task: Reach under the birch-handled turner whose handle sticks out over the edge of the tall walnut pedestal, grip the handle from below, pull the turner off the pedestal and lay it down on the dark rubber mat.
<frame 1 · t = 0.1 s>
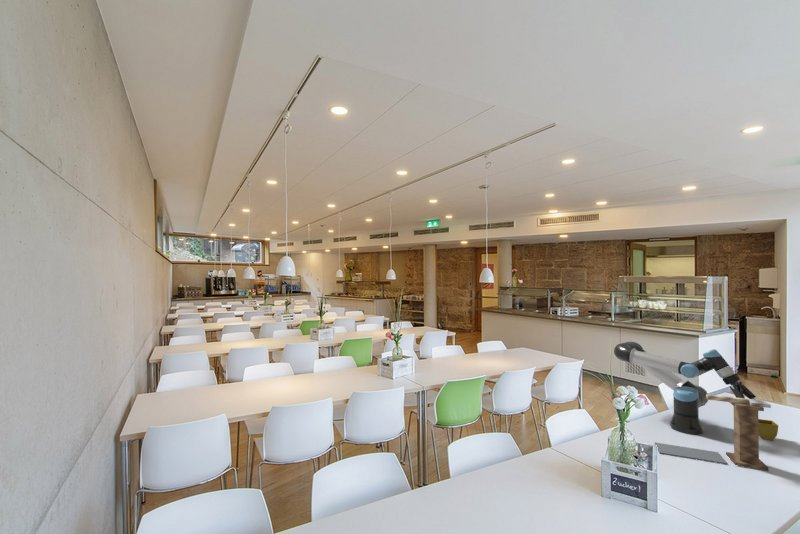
hand: (758, 412, 210), 15 cm above the table, tool tilted 35°, fingers open, 13 cm apart
turner: (745, 403, 185), point 28 cm above the table, touching pedestal
pedestal: (746, 462, 184), on the table
mat: (688, 453, 194), on the table
flower pot: (765, 438, 214), on the table
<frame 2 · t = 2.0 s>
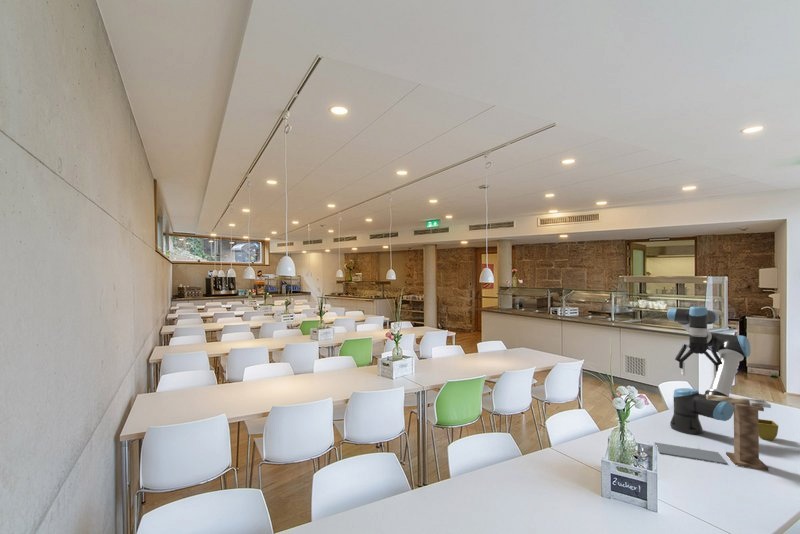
hand: (698, 376, 205), 36 cm above the table, tool pointing down, fingers open, 13 cm apart
nothing on the table moved.
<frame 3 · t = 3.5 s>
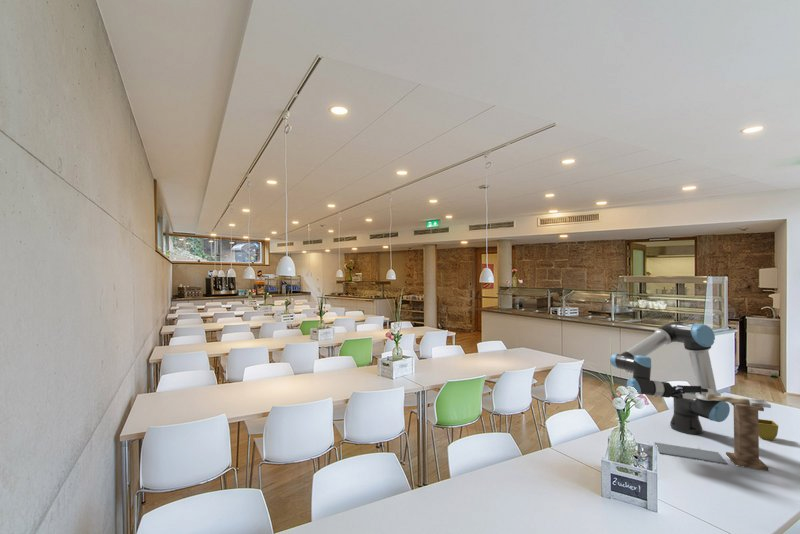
hand: (704, 394, 197), 28 cm above the table, tool horizontal, fingers open, 13 cm apart
turner: (745, 403, 185), point 28 cm above the table, touching gripper, pedestal
everything else where it was.
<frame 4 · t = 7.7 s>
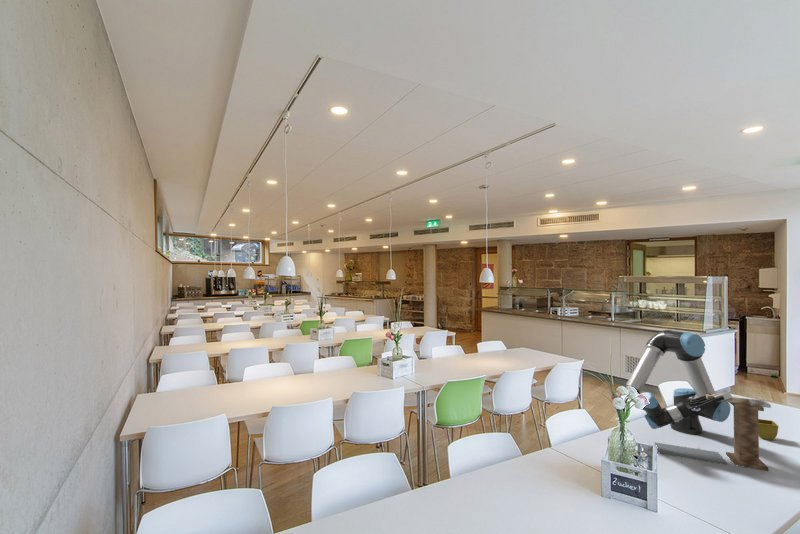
hand: (729, 393, 188), 32 cm above the table, tool pointing upward, fingers closed on turner, 2 cm apart
turner: (745, 403, 185), point 28 cm above the table, touching gripper, pedestal
everything else where it was.
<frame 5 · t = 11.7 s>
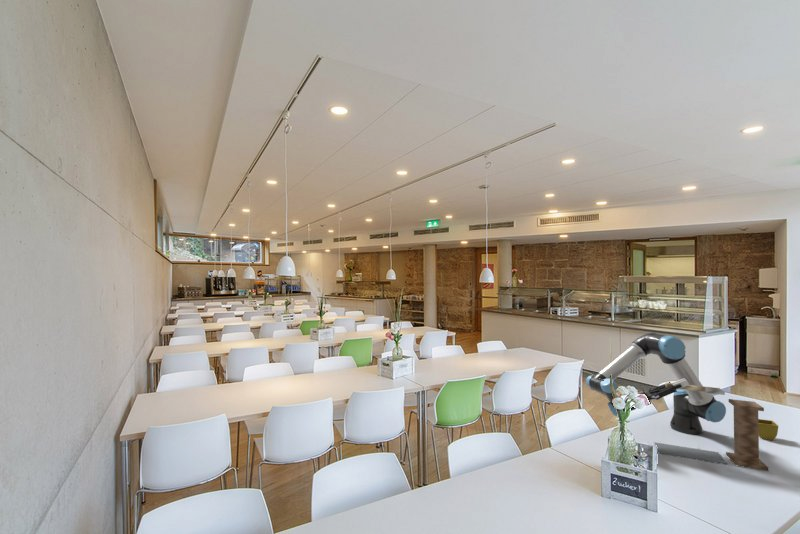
hand: (686, 381, 195), 36 cm above the table, tool pointing upward, fingers closed on turner, 2 cm apart
turner: (701, 390, 192), point 32 cm above the table, touching gripper
everything else where it was.
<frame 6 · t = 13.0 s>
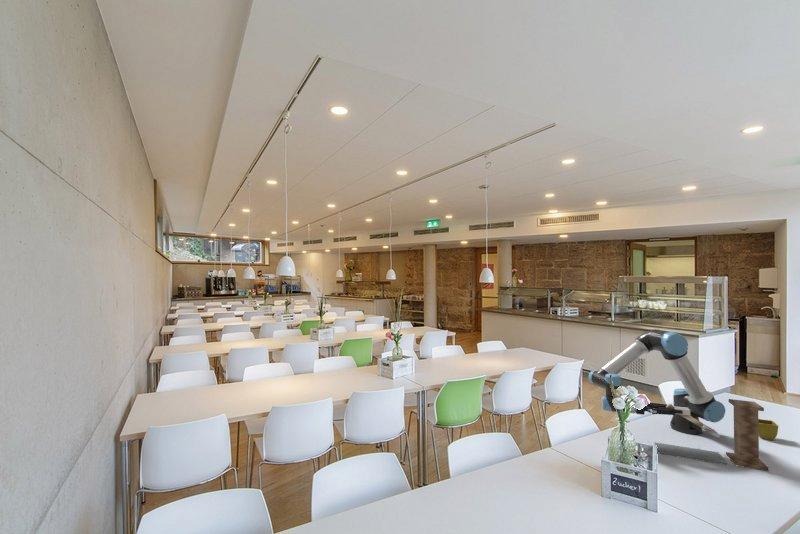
hand: (689, 411, 194), 21 cm above the table, tool horizontal, fingers closed on turner, 2 cm apart
turner: (698, 425, 192), point 14 cm above the table, tilted 28°, touching gripper
everything else where it was.
when the fingers open (11 cm above the table, at t = 15.4 s): turner drops 4 cm, resting on mat.
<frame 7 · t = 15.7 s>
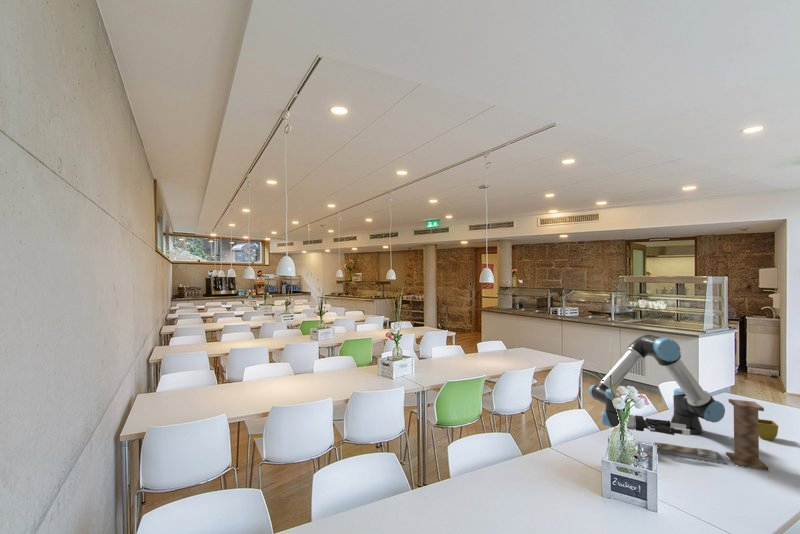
hand: (687, 430, 194), 11 cm above the table, tool horizontal, fingers open, 7 cm apart
turner: (694, 453, 193), point 1 cm above the table, touching mat
everything else where it was.
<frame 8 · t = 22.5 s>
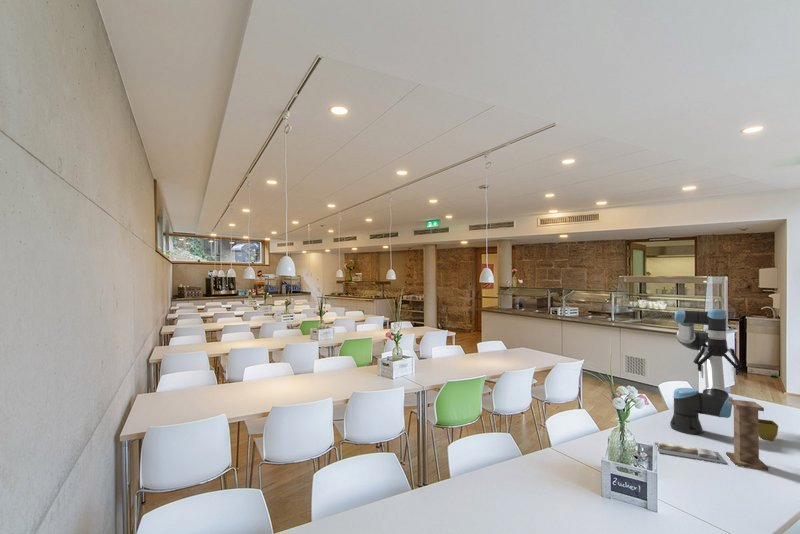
hand: (717, 378, 204), 35 cm above the table, tool pointing down, fingers open, 13 cm apart
nothing on the table moved.
at the end: turner 2.3 cm from the mat (horizontally); turner point 0.6 cm above the table; the gripper is holding nothing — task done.
